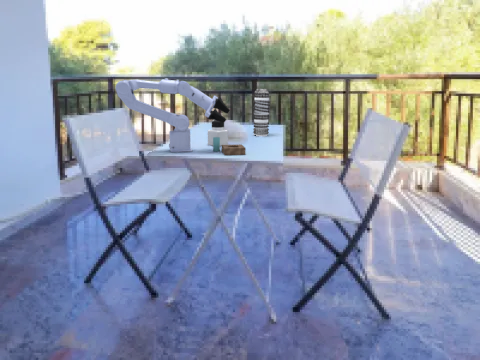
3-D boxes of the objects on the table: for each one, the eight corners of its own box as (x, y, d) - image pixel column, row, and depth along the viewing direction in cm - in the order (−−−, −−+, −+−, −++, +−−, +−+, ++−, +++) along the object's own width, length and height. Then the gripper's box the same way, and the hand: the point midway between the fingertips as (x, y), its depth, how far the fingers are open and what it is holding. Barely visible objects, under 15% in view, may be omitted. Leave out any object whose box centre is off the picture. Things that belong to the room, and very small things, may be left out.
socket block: (224, 155, 200) (224, 148, 200) (221, 151, 209) (221, 144, 208) (245, 154, 202) (245, 147, 201) (241, 151, 211) (241, 144, 210)
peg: (213, 151, 209) (213, 138, 207) (212, 150, 212) (212, 137, 210) (220, 151, 209) (220, 138, 208) (219, 150, 212) (219, 137, 211)
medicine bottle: (228, 144, 226) (228, 120, 224) (217, 146, 221) (217, 121, 218) (218, 143, 231) (218, 118, 228) (207, 144, 226) (207, 119, 223)
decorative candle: (251, 136, 254) (252, 89, 248) (253, 133, 263) (254, 88, 257) (268, 136, 253) (269, 89, 247) (270, 134, 262) (271, 88, 256)
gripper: (201, 101, 198) (227, 119, 201) (209, 85, 209) (234, 101, 212) (193, 112, 203) (219, 129, 206) (202, 95, 213) (226, 112, 216)
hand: (226, 116), depth 209 cm, fingers open, 7 cm apart
